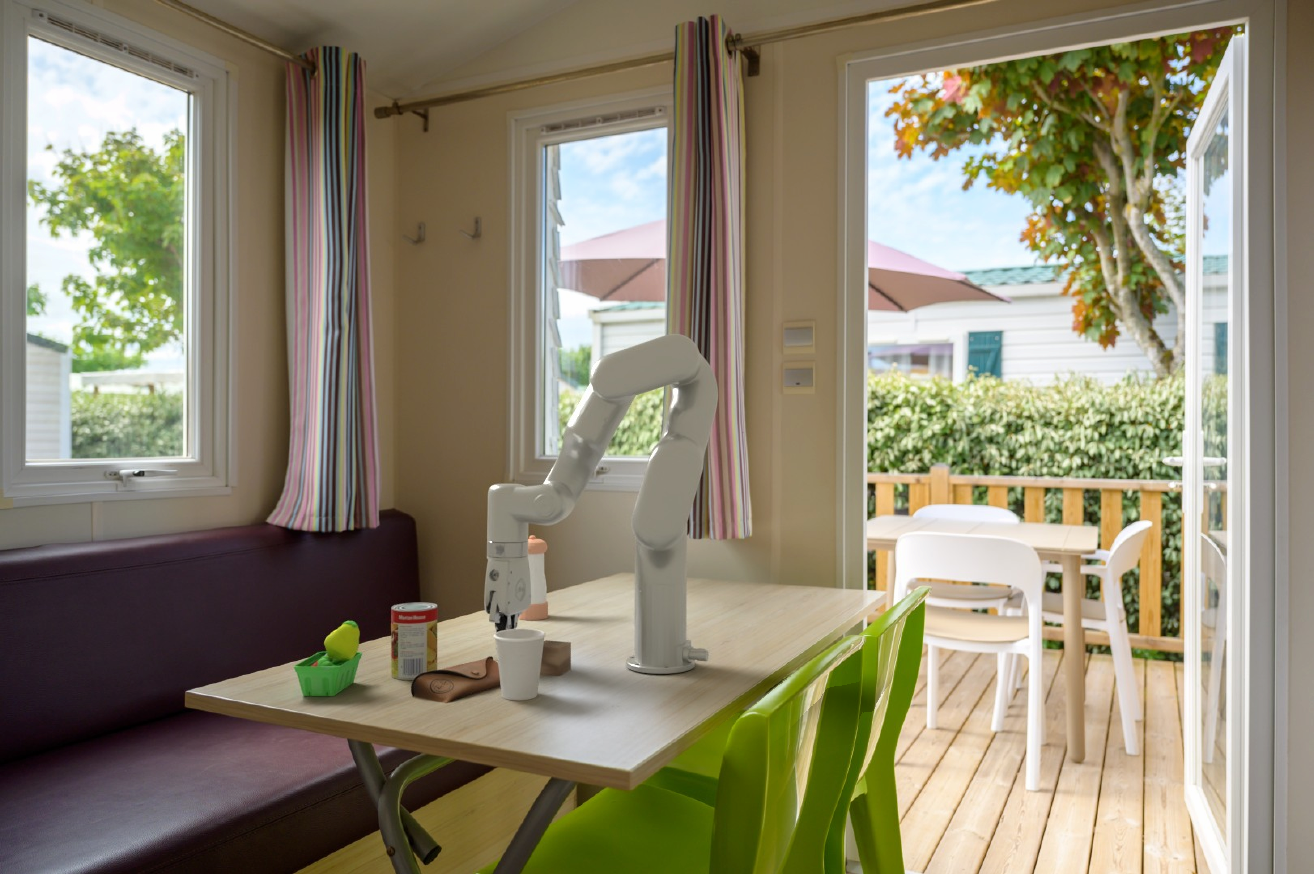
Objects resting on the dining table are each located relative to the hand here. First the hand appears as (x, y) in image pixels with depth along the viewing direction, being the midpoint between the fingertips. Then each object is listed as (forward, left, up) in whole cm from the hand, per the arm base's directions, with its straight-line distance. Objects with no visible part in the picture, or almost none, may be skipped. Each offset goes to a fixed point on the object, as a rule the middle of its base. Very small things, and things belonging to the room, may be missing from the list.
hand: (505, 650), depth 170 cm
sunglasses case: (-2, +16, -3) cm, 17 cm away
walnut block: (-10, +2, -3) cm, 11 cm away
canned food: (+12, +12, -3) cm, 17 cm away
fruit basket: (+19, +25, -3) cm, 31 cm away
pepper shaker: (+17, -43, -3) cm, 46 cm away
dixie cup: (-12, +18, -3) cm, 22 cm away
